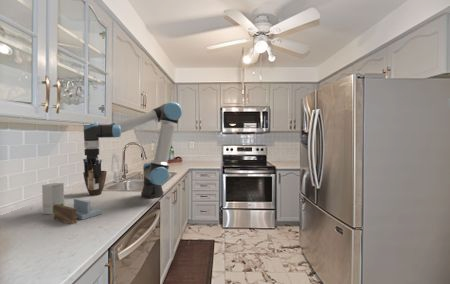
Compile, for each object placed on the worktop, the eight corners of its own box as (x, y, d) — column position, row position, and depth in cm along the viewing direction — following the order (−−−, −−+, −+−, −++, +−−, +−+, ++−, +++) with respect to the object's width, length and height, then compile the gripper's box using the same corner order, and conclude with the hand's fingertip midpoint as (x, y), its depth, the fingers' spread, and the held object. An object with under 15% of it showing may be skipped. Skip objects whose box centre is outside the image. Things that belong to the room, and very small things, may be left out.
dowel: (94, 188, 151) (93, 169, 150) (99, 188, 149) (98, 169, 148) (87, 189, 147) (86, 170, 146) (92, 190, 145) (91, 171, 144)
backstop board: (57, 217, 131) (57, 204, 131) (76, 223, 123) (76, 208, 123) (53, 218, 129) (53, 205, 129) (72, 224, 122) (72, 209, 121)
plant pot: (90, 191, 190) (90, 170, 189) (110, 192, 190) (110, 170, 189) (78, 196, 175) (78, 173, 174) (100, 196, 175) (100, 173, 174)
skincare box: (51, 214, 136) (51, 185, 135) (41, 214, 137) (40, 185, 137) (64, 210, 144) (64, 182, 143) (54, 209, 145) (54, 182, 145)
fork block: (87, 210, 143) (87, 196, 143) (101, 213, 137) (101, 199, 137) (68, 215, 134) (67, 200, 133) (82, 219, 128) (81, 203, 128)
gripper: (76, 148, 148) (78, 188, 149) (95, 149, 139) (96, 191, 140) (88, 147, 154) (90, 186, 155) (107, 148, 146) (109, 188, 147)
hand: (93, 188), depth 148 cm, fingers closed on dowel, 4 cm apart
